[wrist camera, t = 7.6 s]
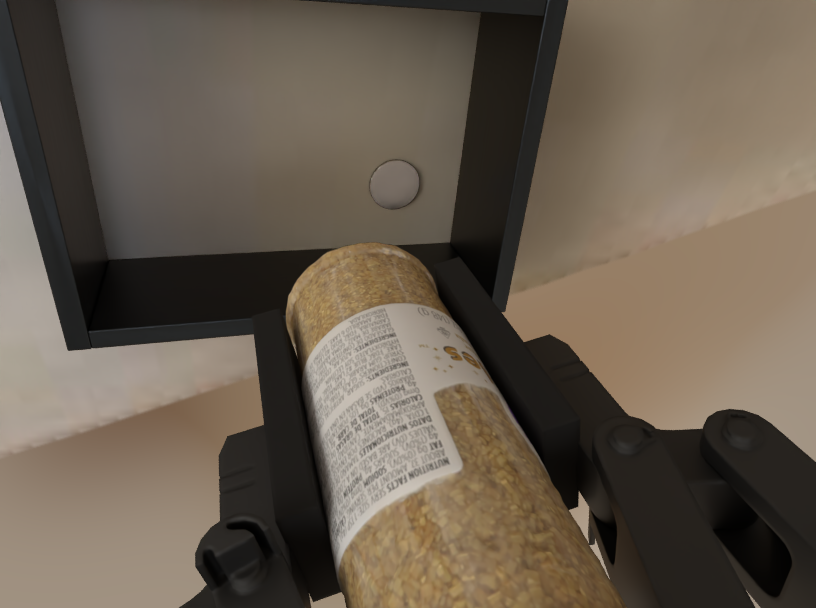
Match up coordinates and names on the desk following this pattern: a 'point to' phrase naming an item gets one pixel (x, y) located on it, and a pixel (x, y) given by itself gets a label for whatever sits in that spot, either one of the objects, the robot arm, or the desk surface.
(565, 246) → the desk surface
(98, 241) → the black open box
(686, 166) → the desk surface
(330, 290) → the sprinkles bottle
